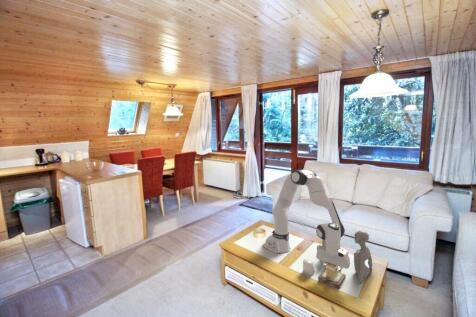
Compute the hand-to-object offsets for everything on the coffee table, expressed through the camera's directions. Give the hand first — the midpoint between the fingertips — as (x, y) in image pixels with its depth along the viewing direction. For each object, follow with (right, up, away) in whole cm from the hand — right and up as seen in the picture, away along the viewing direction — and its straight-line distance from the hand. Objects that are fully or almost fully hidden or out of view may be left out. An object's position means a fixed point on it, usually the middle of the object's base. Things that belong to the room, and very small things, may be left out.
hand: (332, 269), depth 155 cm
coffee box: (+7, -4, +24) cm, 25 cm away
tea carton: (0, -4, +1) cm, 4 cm away
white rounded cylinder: (-13, -6, +9) cm, 17 cm away
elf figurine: (+21, -6, +6) cm, 23 cm away
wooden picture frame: (0, -7, +1) cm, 7 cm away
